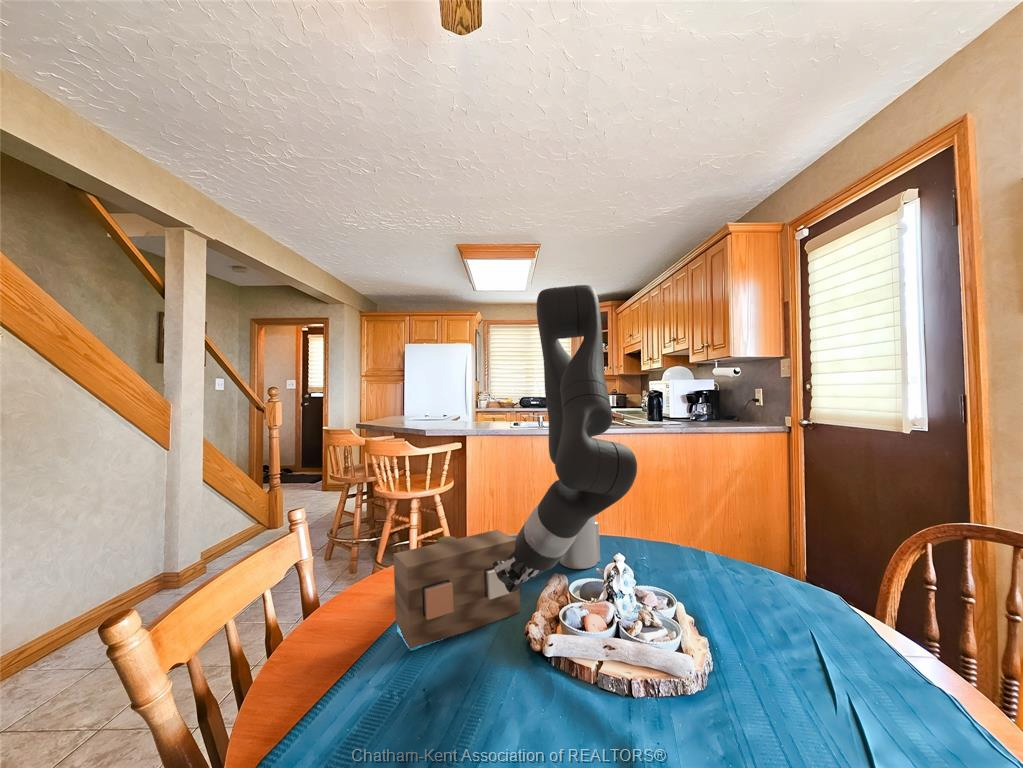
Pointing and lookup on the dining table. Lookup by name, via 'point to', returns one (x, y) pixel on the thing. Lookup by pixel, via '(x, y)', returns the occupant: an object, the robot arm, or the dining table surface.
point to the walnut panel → (466, 573)
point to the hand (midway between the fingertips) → (510, 586)
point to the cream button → (493, 584)
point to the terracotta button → (437, 599)
